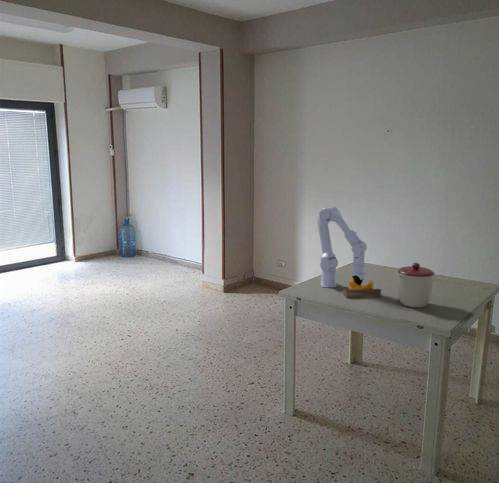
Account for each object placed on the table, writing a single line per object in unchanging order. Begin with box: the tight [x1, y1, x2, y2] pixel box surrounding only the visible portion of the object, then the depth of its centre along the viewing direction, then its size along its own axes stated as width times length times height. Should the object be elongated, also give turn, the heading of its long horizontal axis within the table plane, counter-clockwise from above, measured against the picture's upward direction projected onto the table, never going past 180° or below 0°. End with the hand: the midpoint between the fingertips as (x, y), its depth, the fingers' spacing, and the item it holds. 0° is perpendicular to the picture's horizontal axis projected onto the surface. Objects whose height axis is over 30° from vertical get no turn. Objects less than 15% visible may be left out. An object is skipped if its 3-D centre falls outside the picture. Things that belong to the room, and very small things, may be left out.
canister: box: [395, 262, 436, 309], centre depth 235 cm, size 18×18×21 cm
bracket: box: [342, 288, 382, 299], centre depth 252 cm, size 6×18×4 cm, turn 94°
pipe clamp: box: [348, 278, 374, 290], centre depth 254 cm, size 12×4×6 cm, turn 68°
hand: (357, 289), depth 259 cm, fingers closed
